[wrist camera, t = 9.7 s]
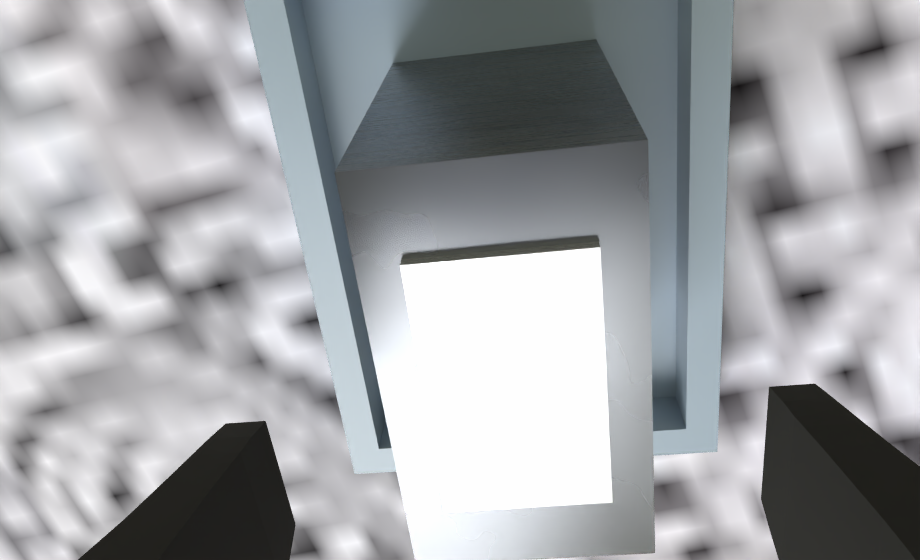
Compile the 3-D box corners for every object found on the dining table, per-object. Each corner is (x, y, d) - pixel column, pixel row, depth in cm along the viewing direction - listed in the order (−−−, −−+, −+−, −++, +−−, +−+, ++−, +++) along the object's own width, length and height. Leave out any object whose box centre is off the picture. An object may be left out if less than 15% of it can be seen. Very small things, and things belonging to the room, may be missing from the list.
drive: (596, 38, 17) (650, 144, 11) (610, 348, 21) (657, 561, 15) (392, 62, 18) (331, 177, 11) (441, 361, 21) (415, 574, 15)
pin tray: (714, -168, 16) (764, -174, 13) (700, 434, 23) (730, 523, 20) (249, -105, 17) (193, -96, 14) (372, 455, 24) (352, 544, 21)
